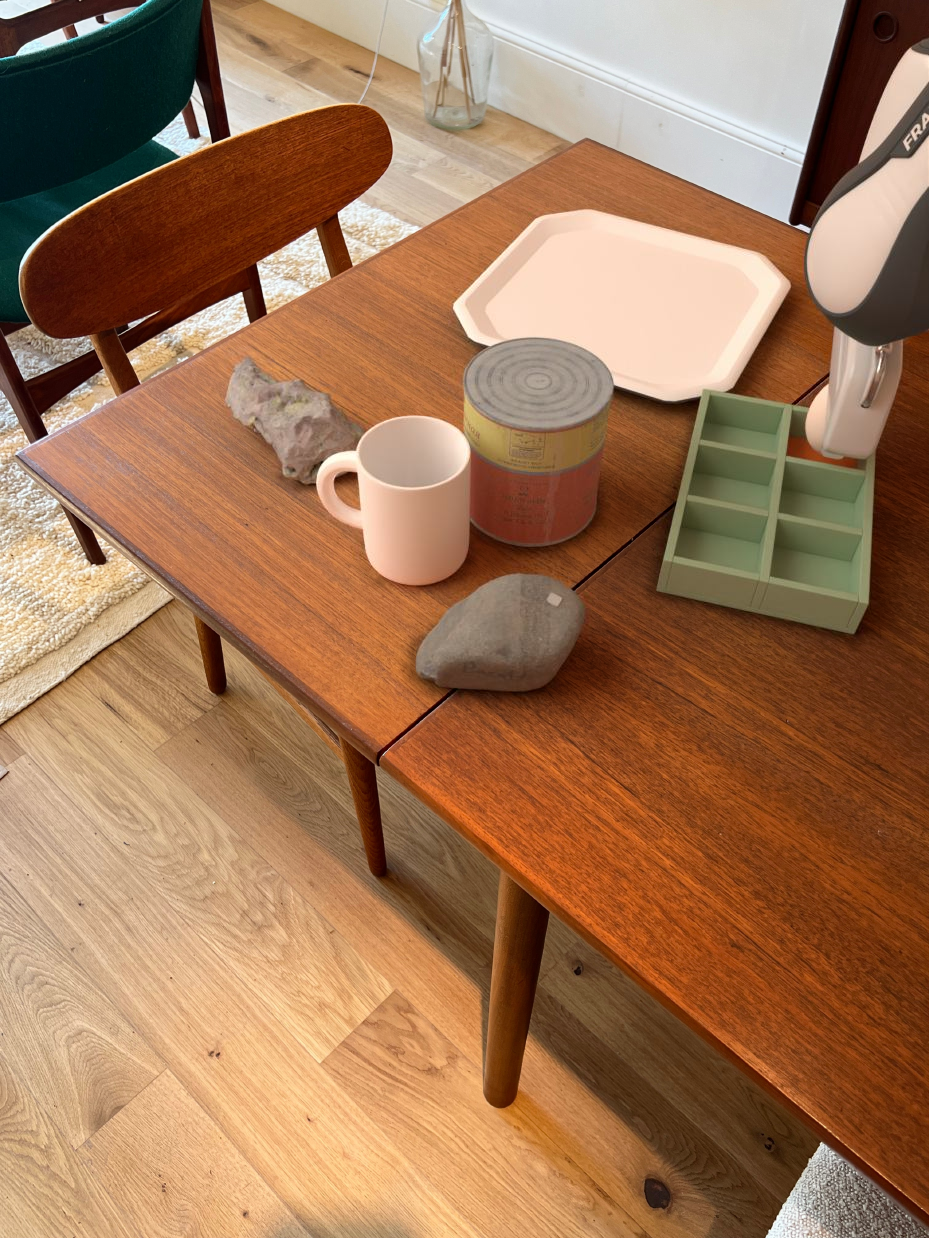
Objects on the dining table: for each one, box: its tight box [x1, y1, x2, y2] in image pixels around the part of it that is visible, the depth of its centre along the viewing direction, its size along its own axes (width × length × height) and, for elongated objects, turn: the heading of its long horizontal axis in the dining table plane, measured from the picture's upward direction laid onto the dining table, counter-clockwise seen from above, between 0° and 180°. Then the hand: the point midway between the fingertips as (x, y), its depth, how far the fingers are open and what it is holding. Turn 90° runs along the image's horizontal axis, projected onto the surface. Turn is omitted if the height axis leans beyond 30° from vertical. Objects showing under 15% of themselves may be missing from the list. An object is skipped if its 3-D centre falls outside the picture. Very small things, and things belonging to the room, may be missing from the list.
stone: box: [415, 572, 586, 692], centre depth 70 cm, size 9×9×10 cm
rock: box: [224, 355, 367, 485], centre depth 85 cm, size 16×7×7 cm, turn 49°
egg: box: [805, 383, 829, 455], centre depth 82 cm, size 5×5×7 cm
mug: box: [315, 415, 471, 586], centre depth 76 cm, size 12×8×10 cm
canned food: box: [462, 337, 615, 548], centre depth 79 cm, size 11×11×12 cm
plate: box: [452, 208, 792, 405], centre depth 101 cm, size 29×29×2 cm
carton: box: [655, 389, 877, 635], centre depth 81 cm, size 15×22×4 cm
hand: (833, 430), depth 83 cm, fingers closed on egg, 5 cm apart
